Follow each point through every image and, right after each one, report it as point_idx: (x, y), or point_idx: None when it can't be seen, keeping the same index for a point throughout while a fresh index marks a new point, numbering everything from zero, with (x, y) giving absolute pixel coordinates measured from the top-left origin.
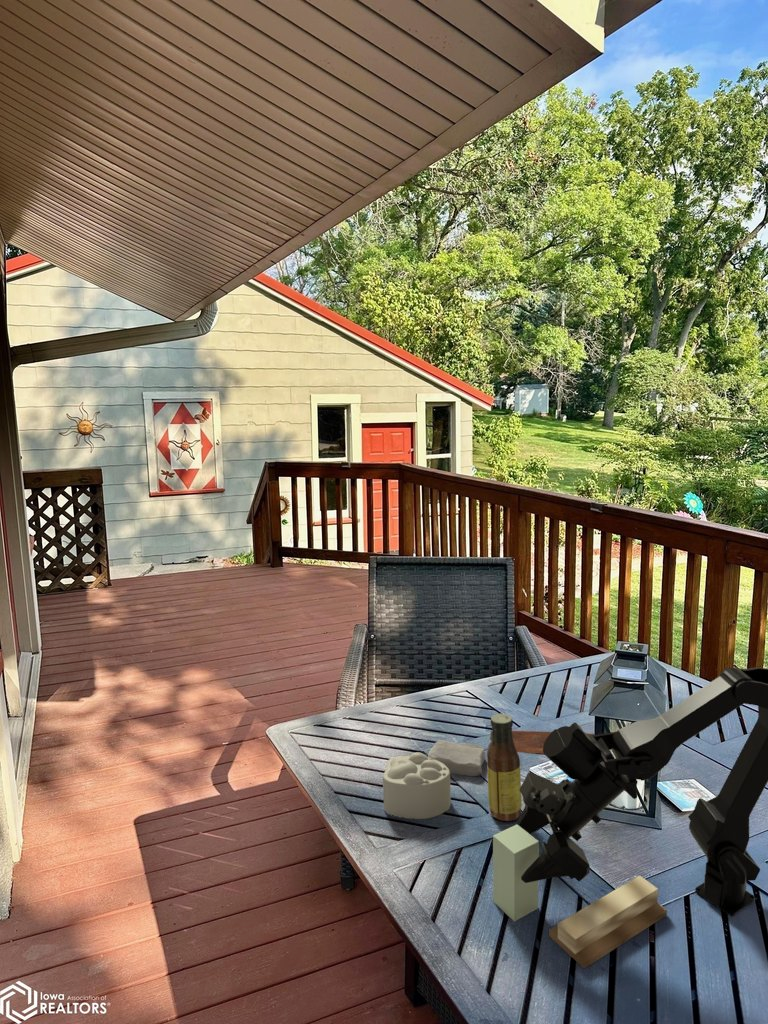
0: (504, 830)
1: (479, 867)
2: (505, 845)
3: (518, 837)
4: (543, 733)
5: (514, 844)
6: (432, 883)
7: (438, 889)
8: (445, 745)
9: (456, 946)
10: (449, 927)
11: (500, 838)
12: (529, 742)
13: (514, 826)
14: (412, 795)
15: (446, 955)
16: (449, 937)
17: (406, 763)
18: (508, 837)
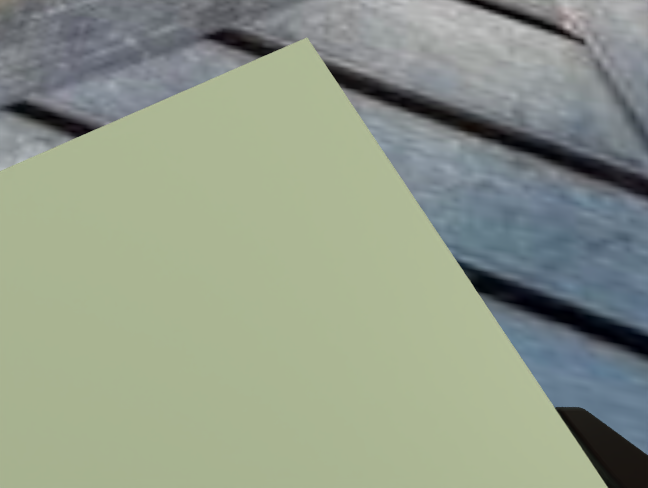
0: (431, 235)
1: (551, 278)
2: (19, 170)
3: (196, 466)
4: None
5: (11, 336)
6: (432, 55)
7: (394, 74)
8: None
9: (55, 102)
10: (165, 89)
11: (225, 131)
12: None
13: (561, 457)
14: None
15: (19, 60)
16: (110, 82)
17: None
18: (226, 264)
